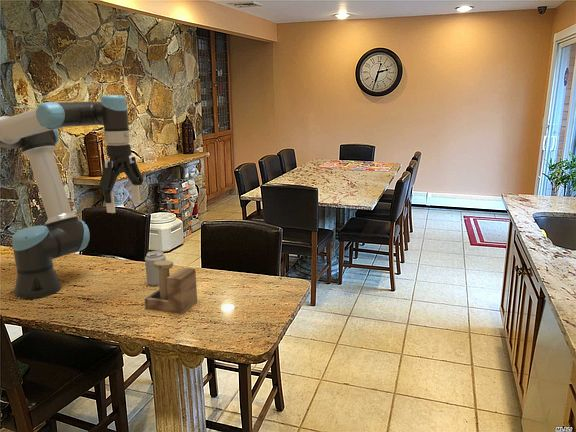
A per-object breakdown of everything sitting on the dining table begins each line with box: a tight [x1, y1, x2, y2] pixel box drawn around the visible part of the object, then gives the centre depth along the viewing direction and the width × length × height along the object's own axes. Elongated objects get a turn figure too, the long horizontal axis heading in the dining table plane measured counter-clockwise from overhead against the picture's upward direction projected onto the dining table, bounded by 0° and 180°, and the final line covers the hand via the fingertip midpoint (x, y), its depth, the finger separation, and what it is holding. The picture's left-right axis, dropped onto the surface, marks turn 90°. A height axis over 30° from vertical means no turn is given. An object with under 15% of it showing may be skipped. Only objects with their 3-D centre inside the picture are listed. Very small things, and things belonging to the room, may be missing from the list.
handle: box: [154, 259, 174, 300], centre depth 158 cm, size 5×6×15 cm
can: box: [144, 250, 167, 287], centre depth 177 cm, size 8×8×12 cm
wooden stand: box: [144, 266, 198, 315], centre depth 158 cm, size 14×10×12 cm
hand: (124, 208), depth 157 cm, fingers open, 13 cm apart
